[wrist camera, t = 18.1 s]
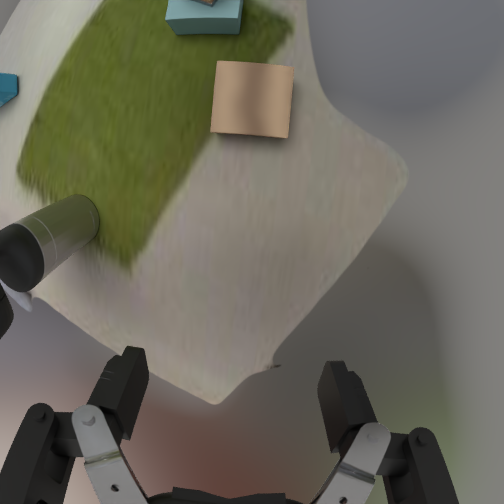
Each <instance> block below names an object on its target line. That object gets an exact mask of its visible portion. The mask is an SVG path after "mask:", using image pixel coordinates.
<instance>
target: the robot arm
mask: <svg viewBox="0 0 504 504" xmlns="http://www.w3.org/2000/svg"><path fill="white" fill-rule="evenodd" d="M98 228H99V216H98V212H97V209H96V208H95V206H94V204H93V203H92V202H91V201H90V200H89V199H88V198H87V197H85V196H82V195H72V196H70V197H67V198H65V199H63V200H60V201H58V202H56V203H53V204H51V205H49V206H47V207H45V208H43V209H41V210H39V211H36V212H34V213H32V214H30V215H28V216H26V217H24V218H22V219H21V220H19V221H17V222H15V223H13V224H11V225H9V226H7V227H5V228H4V229H2V230H0V279H1V280H2V281H3V282H4V283H5V284H6V285H7V286H8V287H10V288H11V289H13V290H15V291H17V292H27V291H29V290H31V289H32V288H34V287H35V286H36V285H37V284H38V283H39V282H40V281H42V280H43V279H44V278H45V277H46V276H47V275H49V274H50V273H51V272H52V271H53V270H54V269H55V268H57V267H58V266H59V265H60V264H61V263H63V262H64V261H65V260H66V259H68V258H69V257H70V256H71V255H72V254H74V253H75V252H76V251H77V250H79V249H80V248H81V247H83V246H84V245H85V244H86V243H88V242H89V241H90V240H92V239H93V238H94V237H95V235H96V234H97V231H98ZM13 317H14V314H13V310H12V307H11V304H10V302H9V300H8V298H7V296H6V294H5V292H4V290H3V287H2V285H1V283H0V339H1V337H3V335H4V334H5V333H6V332H7V330H8V329H9V327H10V325H11V323H12V321H13ZM148 381H149V371H148V366H147V361H146V355H145V350H144V349H143V348H138V347H132V346H127V347H126V348H125V350H124V352H123V354H122V356H119V355H115V356H114V357H113V358H112V359H110V360H109V361H108V362H107V364H106V366H105V368H104V370H103V372H102V374H101V376H100V379H99V380H98V382H97V384H96V386H95V388H94V390H93V392H92V394H91V396H90V398H89V400H88V402H87V404H86V405H82V406H80V407H78V408H77V409H76V410H75V411H74V412H70V413H69V412H54V411H53V409H52V408H51V407H50V406H49V405H47V404H45V403H37V404H34V405H33V406H31V407H30V408H29V409H28V411H27V413H26V415H25V417H24V419H23V421H22V423H21V425H20V427H19V430H18V432H17V434H16V436H15V438H14V441H13V443H12V445H11V448H10V450H9V452H8V455H7V457H6V460H5V462H4V465H3V468H2V470H1V473H0V504H63V502H64V498H65V494H66V490H67V486H68V482H69V479H70V475H71V471H72V468H73V465H74V461H75V458H76V457H84V459H85V463H84V466H85V469H86V472H87V474H88V477H89V479H90V481H91V484H92V486H93V488H94V491H95V493H96V495H97V497H98V499H99V501H100V503H101V504H303V503H300V502H298V501H295V500H291V499H286V498H285V493H272V494H254V495H249V496H244V497H238V498H232V499H227V498H224V497H220V496H216V495H213V494H210V493H206V492H203V491H200V490H192V489H184V488H178V487H173V491H172V492H168V493H161V494H157V495H154V496H152V497H148V496H147V494H146V493H145V491H144V490H143V488H142V486H141V485H140V483H139V481H138V480H137V478H136V476H135V474H134V473H133V471H132V469H131V467H130V466H129V464H128V462H127V460H126V458H125V456H124V454H123V452H122V450H121V448H120V443H121V440H122V439H126V440H130V439H131V435H132V432H133V428H134V425H135V422H136V419H137V416H138V413H139V410H140V406H141V403H142V400H143V397H144V394H145V391H146V388H147V385H148ZM318 398H319V403H320V407H321V411H322V415H323V419H324V424H325V429H326V433H327V438H328V441H329V446H330V451H331V453H337V452H339V454H340V459H339V461H338V462H337V464H336V465H335V467H334V469H333V470H332V472H331V473H330V475H329V476H328V478H327V480H326V481H325V483H324V484H323V485H322V487H321V488H320V490H319V491H318V492H317V494H316V495H315V496H314V497H313V499H312V500H311V501H310V503H309V504H364V503H365V501H366V500H367V498H368V496H369V494H370V492H371V490H372V488H373V486H374V484H375V479H374V477H375V475H382V477H383V481H384V486H385V490H386V495H387V500H388V504H459V502H458V499H457V496H456V493H455V490H454V486H453V484H452V480H451V478H450V475H449V472H448V469H447V466H446V463H445V461H444V458H443V456H442V453H441V450H440V448H439V445H438V442H437V440H436V438H435V436H434V434H433V433H432V432H431V431H430V430H429V429H427V428H423V427H419V428H415V429H414V430H412V431H411V432H410V433H409V434H400V433H392V432H389V430H388V429H387V428H386V427H385V426H384V425H382V424H379V423H378V421H377V419H376V416H375V414H374V411H373V409H372V406H371V404H370V401H369V398H368V396H367V393H366V391H365V389H364V386H363V383H362V381H361V378H359V376H358V375H357V374H356V373H355V372H354V371H349V372H348V370H347V367H346V365H345V363H344V361H327V362H326V363H325V366H324V369H323V372H322V375H321V377H320V381H319V383H318Z"/></svg>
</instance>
